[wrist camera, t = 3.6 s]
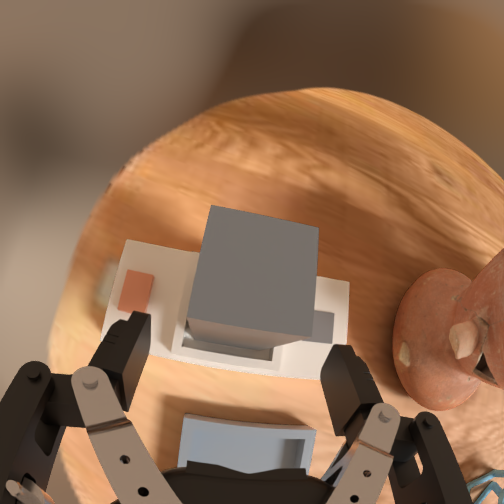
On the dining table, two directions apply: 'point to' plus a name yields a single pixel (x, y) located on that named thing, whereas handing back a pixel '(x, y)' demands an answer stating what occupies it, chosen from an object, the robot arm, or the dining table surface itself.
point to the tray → (245, 444)
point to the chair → (502, 494)
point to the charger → (254, 281)
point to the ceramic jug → (451, 335)
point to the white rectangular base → (205, 353)
